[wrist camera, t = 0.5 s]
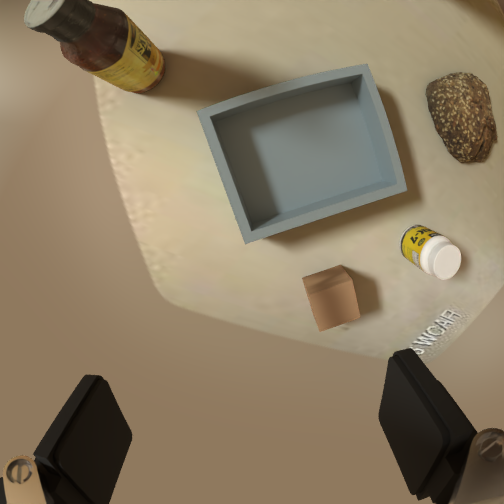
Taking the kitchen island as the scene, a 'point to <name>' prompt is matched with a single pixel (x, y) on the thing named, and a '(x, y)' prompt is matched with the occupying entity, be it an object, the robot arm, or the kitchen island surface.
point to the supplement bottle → (430, 251)
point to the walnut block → (331, 297)
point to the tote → (303, 150)
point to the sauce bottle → (100, 41)
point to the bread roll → (462, 115)
